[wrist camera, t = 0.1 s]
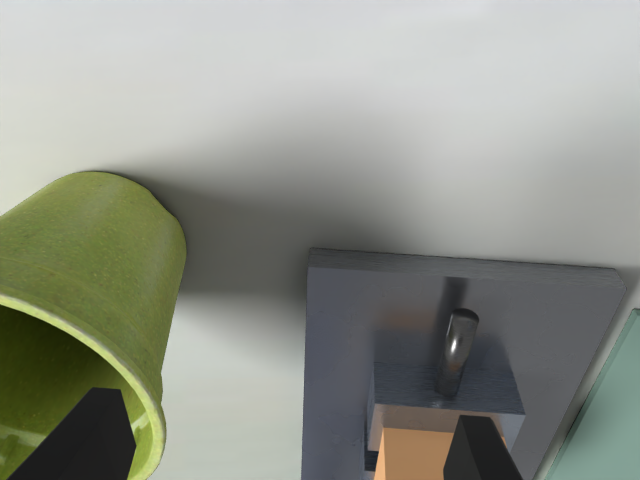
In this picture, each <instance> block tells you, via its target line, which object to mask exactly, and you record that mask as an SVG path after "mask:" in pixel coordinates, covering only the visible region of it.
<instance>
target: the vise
mask: <svg viewBox="0 0 640 480" xmlns="http://www.w3.org/2000/svg"><path fill="white" fill-rule="evenodd" d="M626 290H627V288H626V286H625V285H624V283H623V282H622V280H621V279H620V277H619V275H618V274H617V272H616V271H615V269H609V268H594V267H580V266H565V265H550V264H535V263H520V262H506V261H491V260H476V259H461V258H446V257H432V256H417V255H402V254H387V253H372V252H358V251H343V250H328V249H313V248H310V253H309V260H308V271H307V304H306V337H305V370H304V403H303V437H302V470H301V480H374V477H375V471H376V466H377V460H378V454H379V449H380V443H381V437H382V432H383V428H396V429H409V430H421V431H434V432H447V433H454V432H455V429H456V425H457V422H458V419H459V416H460V415H471V416H485V417H490V418H491V419H492V420H493V422H494V424H495V426H496V428H497V430H498V432H499V434H500V436H501V437H504V438H505V442H506V446H507V450H508V452H509V454H510V456H511V457H512V459H513V461H514V463H515V465H516V467H517V469H518V471H519V472H520V474H521V476H522V478H523V480H532V479H533V477H534V475H535V473H536V471H537V469H538V467H539V465H540V463H541V461H542V459H543V457H544V455H545V453H546V451H547V449H548V447H549V445H550V443H551V441H552V439H553V437H554V435H555V433H556V431H557V429H558V427H559V425H560V423H561V421H562V419H563V417H564V415H565V413H566V411H567V409H568V407H569V405H570V403H571V400H572V398H573V396H574V394H575V392H576V390H577V388H578V386H579V384H580V382H581V380H582V378H583V376H584V374H585V372H586V370H587V368H588V366H589V364H590V362H591V360H592V358H593V356H594V354H595V352H596V350H597V348H598V346H599V344H600V342H601V340H602V338H603V336H604V334H605V332H606V330H607V328H608V326H609V324H610V322H611V320H612V318H613V316H614V314H615V312H616V310H617V308H618V306H619V304H620V302H621V300H622V298H623V296H624V294H625V292H626Z"/></svg>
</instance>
